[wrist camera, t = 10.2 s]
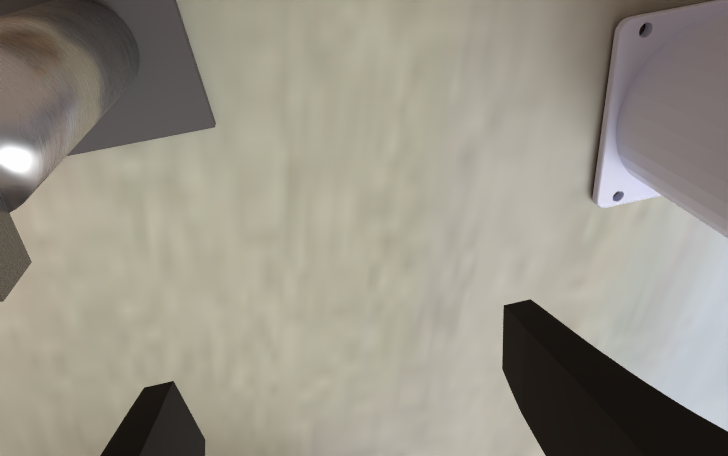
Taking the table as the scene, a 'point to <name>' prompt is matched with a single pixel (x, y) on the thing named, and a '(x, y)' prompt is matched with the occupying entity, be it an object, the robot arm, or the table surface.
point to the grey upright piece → (52, 99)
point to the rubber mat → (148, 78)
